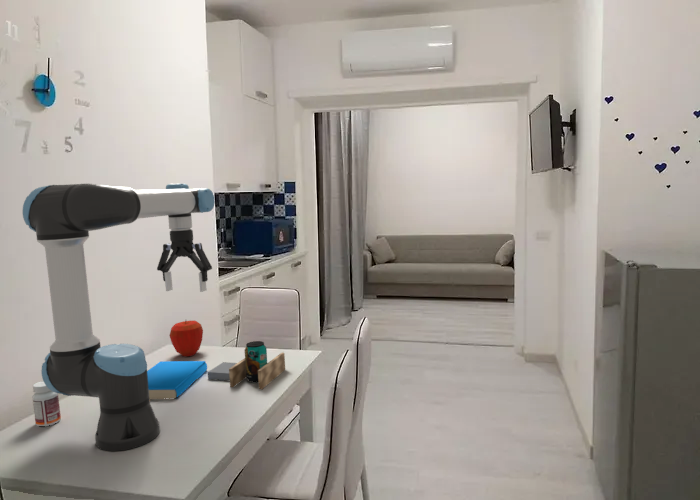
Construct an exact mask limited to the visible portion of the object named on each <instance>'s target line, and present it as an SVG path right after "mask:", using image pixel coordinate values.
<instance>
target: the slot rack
mask: <svg viewBox="0 0 700 500" xmlns="http://www.w3.org/2000/svg"><path fill="white" fill-rule="evenodd" d="M285 357H286V356H285V352H280V353H279V354H278V355H276V356H275V357H274V358H272V359H271V360H270V361H267V364H266V365H265V366H263V367H262V368H261V369H259V370H258V381H259V382H258V389H259V390H263V389H264V388H266V387H267V386H268V385H269V384H270V383H272V382H273V381H274V380H275V379H276V378H277V377H279V375H281V374H282V373H283V372H285V371H286V360H285V359H286V358H285ZM236 363H237V364H235V365H234V366H232V367H231V368H229V377H230V381H229V385H230V386H229V387H230V388H234V387H236V386H237V385H238V384H239V382H240V383H241V382H242V381H244V380H245V379H247V378H246V364H245V357H244V358H243V359H241V360H239V361H238V362H236ZM236 384H237V385H236ZM235 385H236V386H235Z"/></svg>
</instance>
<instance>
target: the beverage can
mask: <svg viewBox="0 0 700 500" xmlns="http://www.w3.org/2000/svg"><path fill="white" fill-rule="evenodd" d="M267 353H268V351H267V347H266V345H265V342H264V341H260V340H258V341H257V340H256V341H255V340H254V341H250V342H246V344H245V348H244V358H245V364H246V378H245V379H246V380H247V381H249V383H259V381H258V370H259V369H261V368H262V367H263V366H265V365H266V364H267V363H268V354H267Z"/></svg>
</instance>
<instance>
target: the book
mask: <svg viewBox="0 0 700 500" xmlns="http://www.w3.org/2000/svg"><path fill="white" fill-rule="evenodd" d="M206 362H207V361H206V360H195V361H194V360H188V361H187V360H184V361H183V360H180V361H178V360H176V361H175V360H174V361H173V360H172V361H168V360H167V361H164V360H163V361H159V362H157V363H155V365H153V366H152V367H151V368H150V369H147V375H148V388H149V400H167V399H166V398H169V399H168V400H171V399H170V398H176V397H178V396H179V395H180V396H182V394H183V393H184V392H185V391H186V390H187V389H189V388H190V385H191V384H192V383H193V382H194V381H195V380H196V379H197V380H198V379H199V378H200V377H201V376H202V375H204V374H205V373H206V372H207V370H208V364H207V363H206ZM197 380H196V381H197ZM196 381H195V382H196ZM195 382H194V383H195ZM194 383H193V384H194ZM191 386H192V385H191ZM180 396H179V397H180ZM179 397H178V398H179ZM164 398H165V399H164Z"/></svg>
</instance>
